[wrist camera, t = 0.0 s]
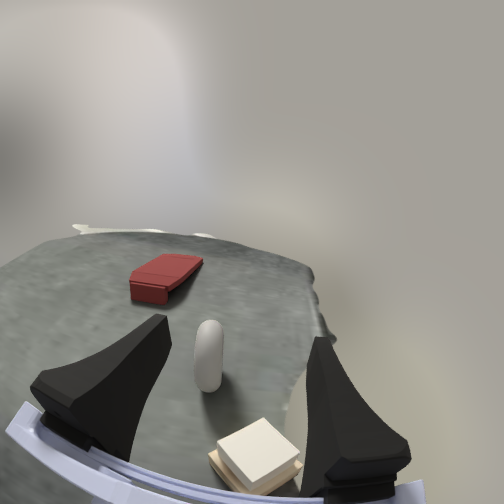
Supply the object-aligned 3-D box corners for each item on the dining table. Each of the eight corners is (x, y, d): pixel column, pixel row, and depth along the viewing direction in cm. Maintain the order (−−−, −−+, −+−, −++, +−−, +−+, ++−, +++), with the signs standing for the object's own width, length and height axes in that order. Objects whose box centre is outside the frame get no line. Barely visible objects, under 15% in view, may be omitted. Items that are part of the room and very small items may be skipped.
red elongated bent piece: (164, 269, 78) (123, 298, 54) (164, 252, 77) (121, 277, 53) (203, 273, 77) (173, 307, 53) (204, 256, 76) (173, 284, 52)
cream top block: (294, 463, 21) (300, 451, 20) (250, 491, 18) (252, 482, 17) (260, 431, 25) (263, 417, 24) (217, 454, 22) (216, 441, 21)
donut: (221, 407, 31) (220, 355, 27) (195, 405, 31) (188, 352, 27) (224, 358, 40) (224, 306, 37) (202, 357, 40) (200, 304, 37)
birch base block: (297, 475, 22) (303, 465, 21) (246, 507, 18) (248, 500, 17) (258, 438, 27) (261, 426, 26) (209, 464, 23) (207, 453, 22)
